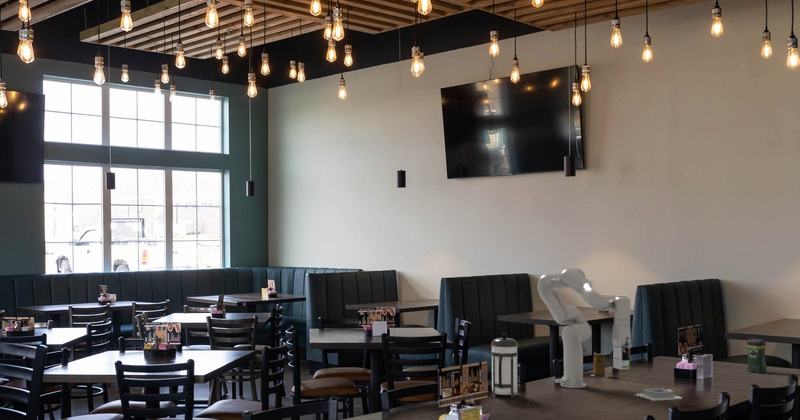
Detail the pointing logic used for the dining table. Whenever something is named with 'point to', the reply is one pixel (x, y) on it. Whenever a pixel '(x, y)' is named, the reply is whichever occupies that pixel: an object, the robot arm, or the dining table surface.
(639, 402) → the dining table surface
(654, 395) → the chassis plate
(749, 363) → the coffee jar
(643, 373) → the dining table surface
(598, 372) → the condiment
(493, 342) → the coffee press
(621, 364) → the syrup box
